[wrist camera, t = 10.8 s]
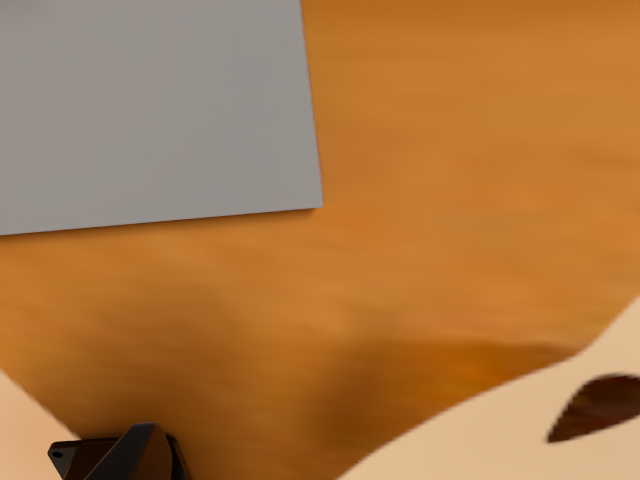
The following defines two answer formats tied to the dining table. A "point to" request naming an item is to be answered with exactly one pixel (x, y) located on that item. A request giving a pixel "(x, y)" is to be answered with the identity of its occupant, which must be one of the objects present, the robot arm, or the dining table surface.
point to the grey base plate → (153, 112)
